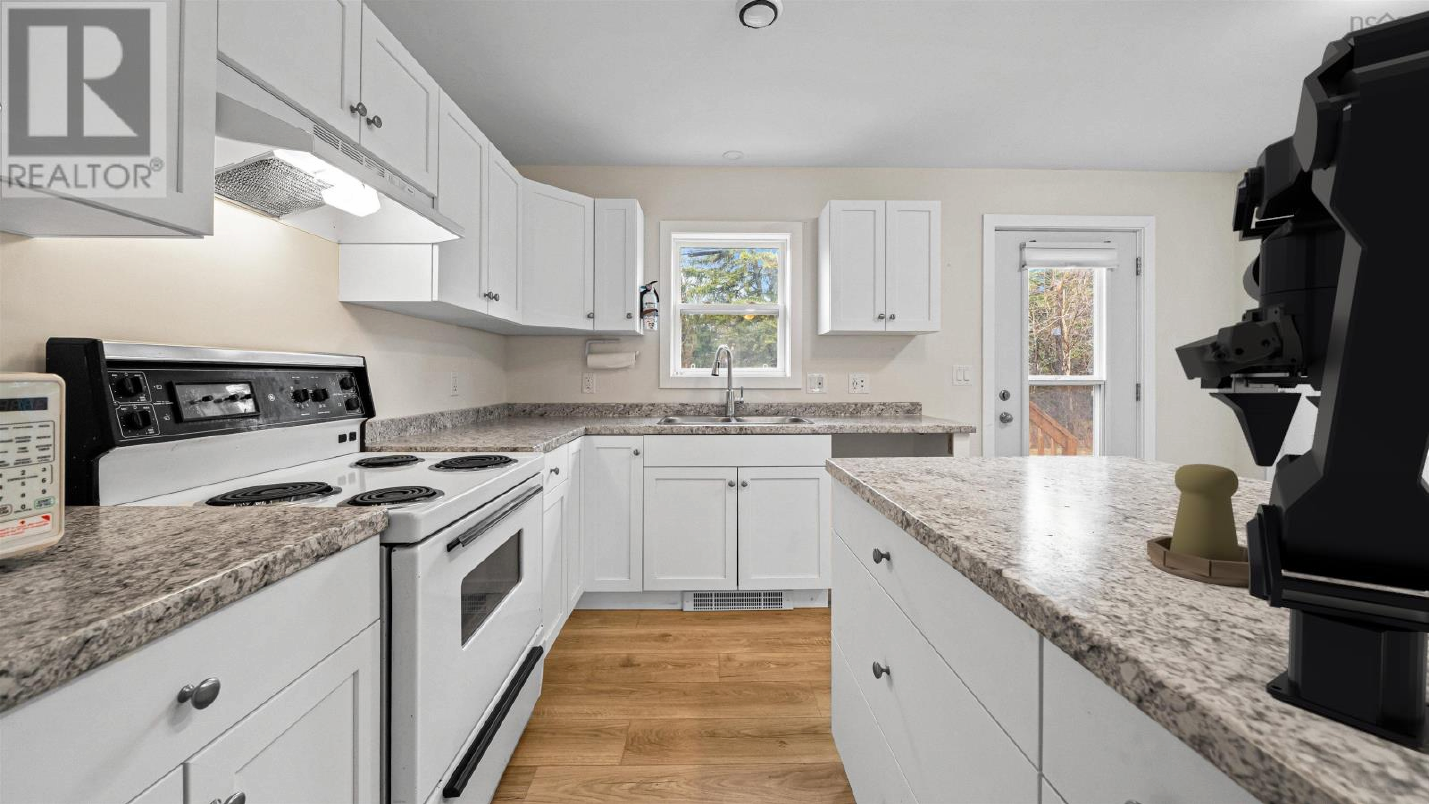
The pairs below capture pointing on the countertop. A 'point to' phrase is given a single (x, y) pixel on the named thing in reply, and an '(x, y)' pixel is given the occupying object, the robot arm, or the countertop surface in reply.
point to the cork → (1206, 513)
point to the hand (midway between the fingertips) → (1301, 474)
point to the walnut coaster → (1198, 564)
